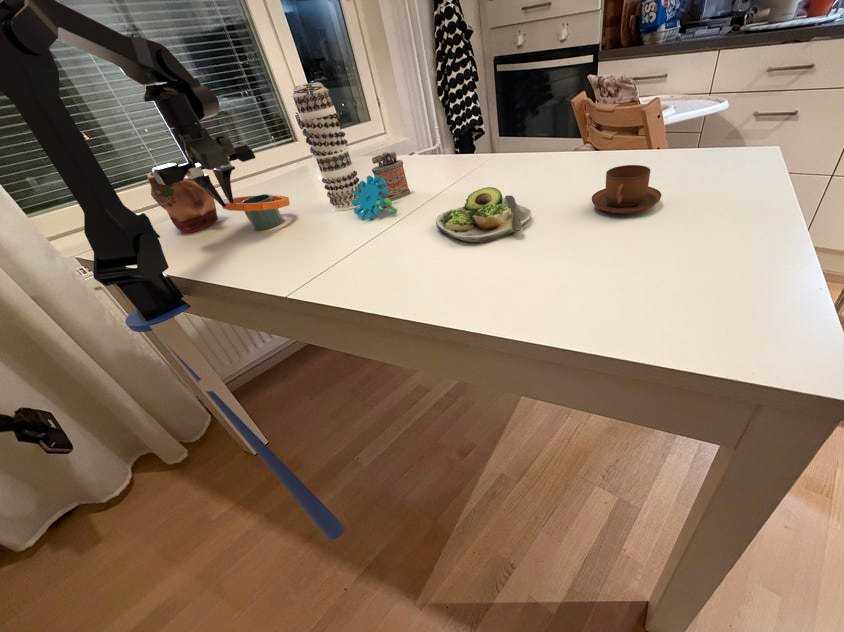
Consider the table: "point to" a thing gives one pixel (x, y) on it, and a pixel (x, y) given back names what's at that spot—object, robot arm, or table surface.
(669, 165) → the table surface
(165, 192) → the decorative planter
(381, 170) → the lighter
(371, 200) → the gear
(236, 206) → the ring
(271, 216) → the cup
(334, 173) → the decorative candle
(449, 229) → the avocado toast plate
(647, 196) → the cup and saucer
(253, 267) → the table surface
